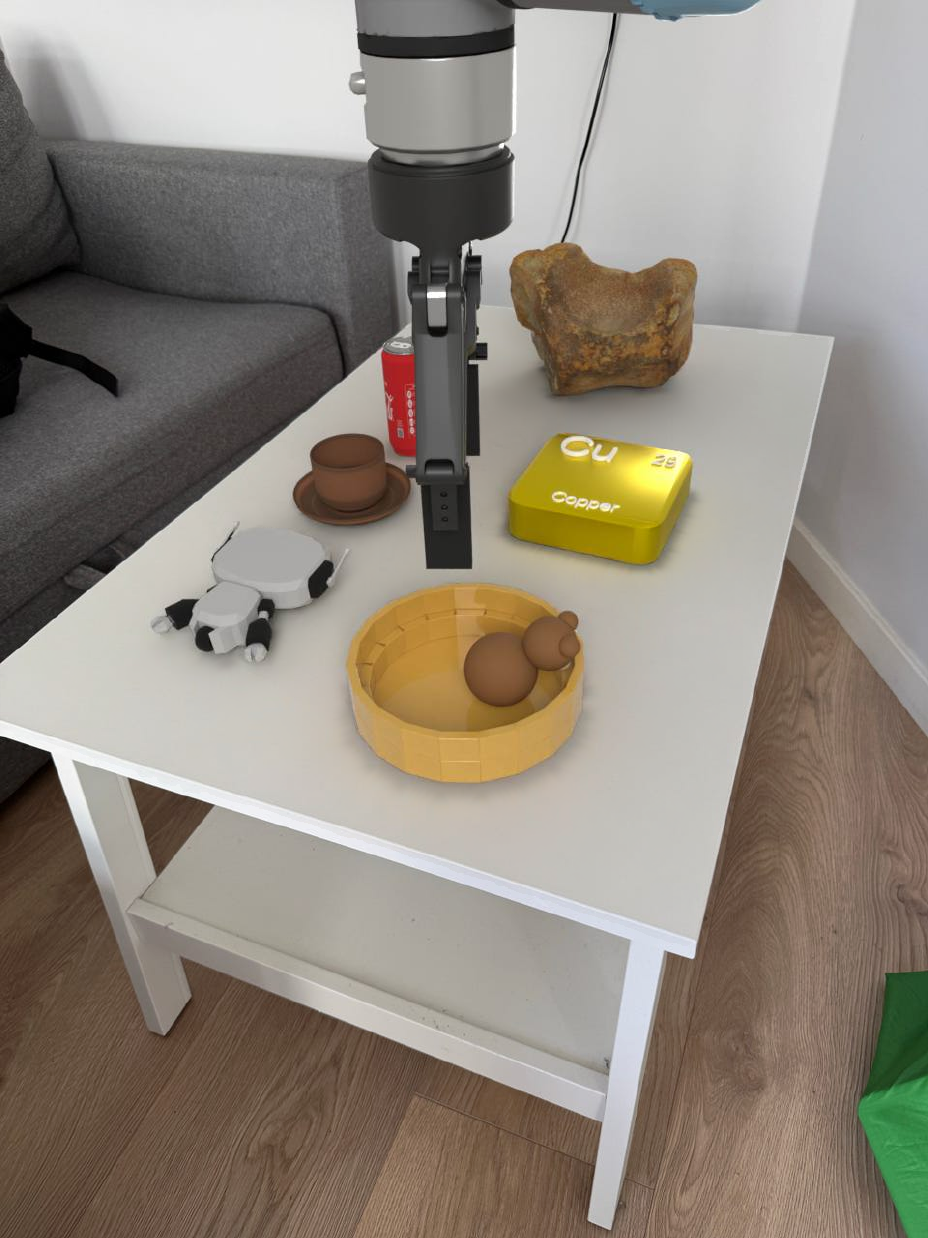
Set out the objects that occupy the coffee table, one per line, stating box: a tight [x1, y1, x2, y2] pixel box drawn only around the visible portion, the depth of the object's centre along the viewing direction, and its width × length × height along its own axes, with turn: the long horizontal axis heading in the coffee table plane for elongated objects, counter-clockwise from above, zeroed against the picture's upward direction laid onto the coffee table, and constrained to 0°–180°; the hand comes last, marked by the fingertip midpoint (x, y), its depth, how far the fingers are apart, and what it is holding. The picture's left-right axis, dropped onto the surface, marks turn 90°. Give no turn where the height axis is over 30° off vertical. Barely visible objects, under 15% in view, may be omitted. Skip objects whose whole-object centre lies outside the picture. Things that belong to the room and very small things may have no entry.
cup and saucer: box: [292, 432, 412, 526], centre depth 92 cm, size 12×12×6 cm
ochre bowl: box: [345, 582, 585, 784], centre depth 69 cm, size 17×17×5 cm
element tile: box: [507, 432, 694, 565], centre depth 89 cm, size 15×15×5 cm
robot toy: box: [150, 520, 351, 663], centre depth 79 cm, size 12×4×15 cm
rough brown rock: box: [508, 241, 698, 397], centre depth 110 cm, size 23×17×15 cm
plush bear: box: [464, 610, 580, 707], centre depth 68 cm, size 6×6×10 cm
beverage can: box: [380, 335, 416, 458], centre depth 99 cm, size 5×5×12 cm
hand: (455, 505), depth 60 cm, fingers open, 13 cm apart
